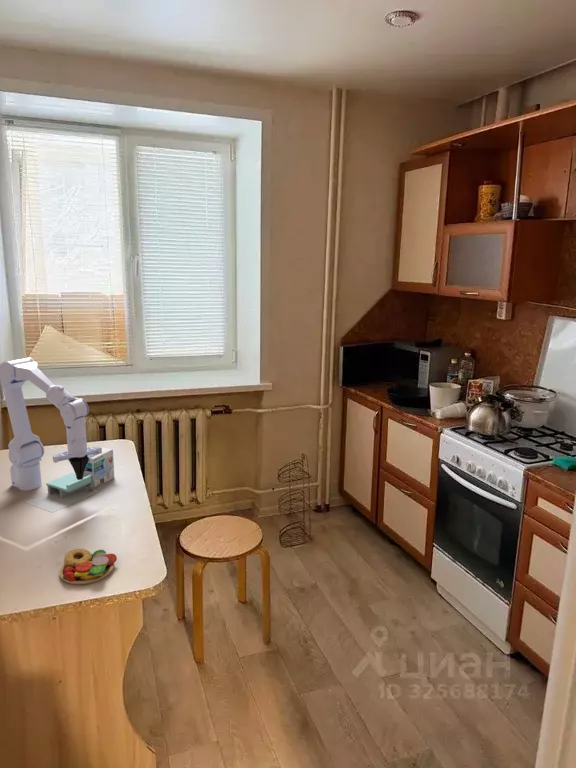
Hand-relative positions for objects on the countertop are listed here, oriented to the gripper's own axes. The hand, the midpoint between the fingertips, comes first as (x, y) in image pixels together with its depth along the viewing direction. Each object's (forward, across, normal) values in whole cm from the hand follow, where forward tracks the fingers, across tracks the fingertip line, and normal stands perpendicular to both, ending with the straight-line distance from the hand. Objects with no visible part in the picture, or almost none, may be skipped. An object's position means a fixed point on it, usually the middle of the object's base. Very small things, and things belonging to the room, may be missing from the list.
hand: (79, 478), depth 171 cm
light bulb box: (+8, +10, +12) cm, 17 cm away
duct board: (+8, -4, +5) cm, 10 cm away
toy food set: (+8, -11, -41) cm, 43 cm away
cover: (+4, -1, +7) cm, 8 cm away
